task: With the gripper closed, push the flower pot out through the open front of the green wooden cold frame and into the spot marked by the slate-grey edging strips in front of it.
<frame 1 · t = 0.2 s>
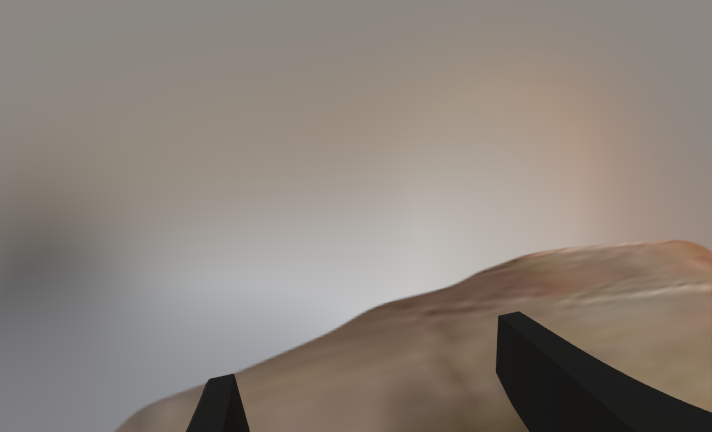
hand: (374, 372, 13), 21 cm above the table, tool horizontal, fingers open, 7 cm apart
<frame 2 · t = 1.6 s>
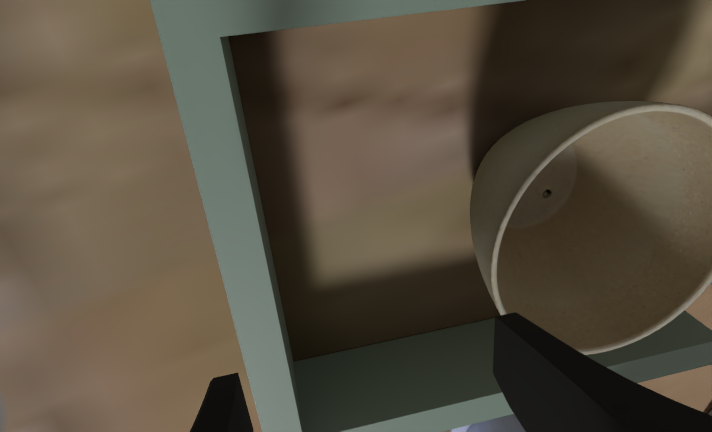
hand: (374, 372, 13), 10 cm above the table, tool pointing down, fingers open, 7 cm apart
cold frame: (484, 183, 23), on the table
flower pot: (520, 174, 24), on the table
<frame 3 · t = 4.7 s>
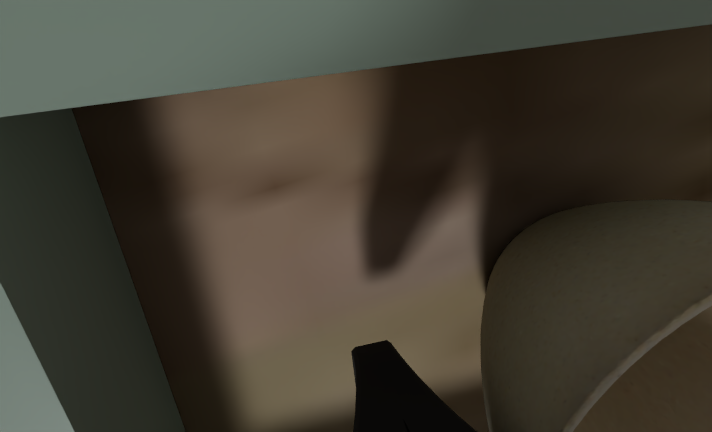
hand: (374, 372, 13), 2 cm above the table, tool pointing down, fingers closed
cold frame: (493, 290, 16), on the table
flower pot: (551, 273, 16), on the table, touching gripper
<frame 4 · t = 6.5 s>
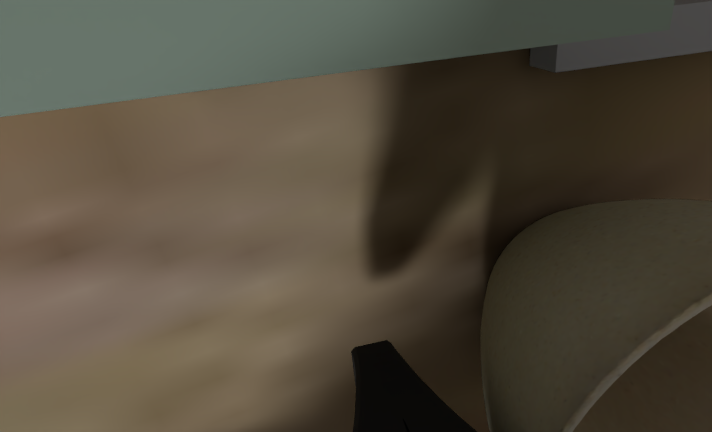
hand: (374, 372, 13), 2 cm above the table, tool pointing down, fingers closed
cold frame: (169, 356, 14), on the table
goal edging: (676, 252, 17), on the table
flower pot: (551, 273, 16), on the table, touching gripper
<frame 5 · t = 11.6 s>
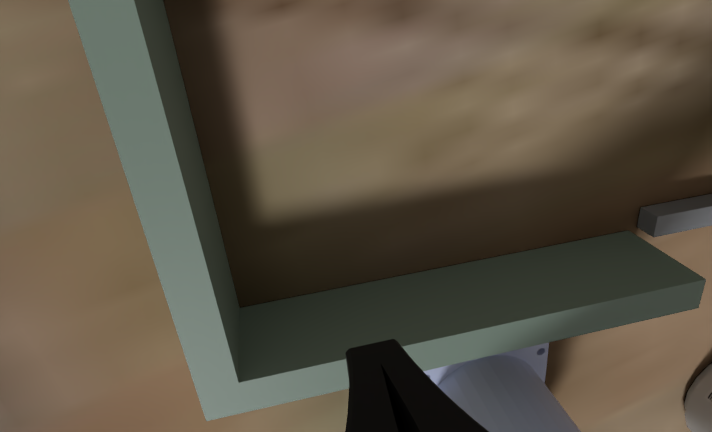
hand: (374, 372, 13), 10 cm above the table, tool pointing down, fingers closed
cold frame: (443, 106, 21), on the table
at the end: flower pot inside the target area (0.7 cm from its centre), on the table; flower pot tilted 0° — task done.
